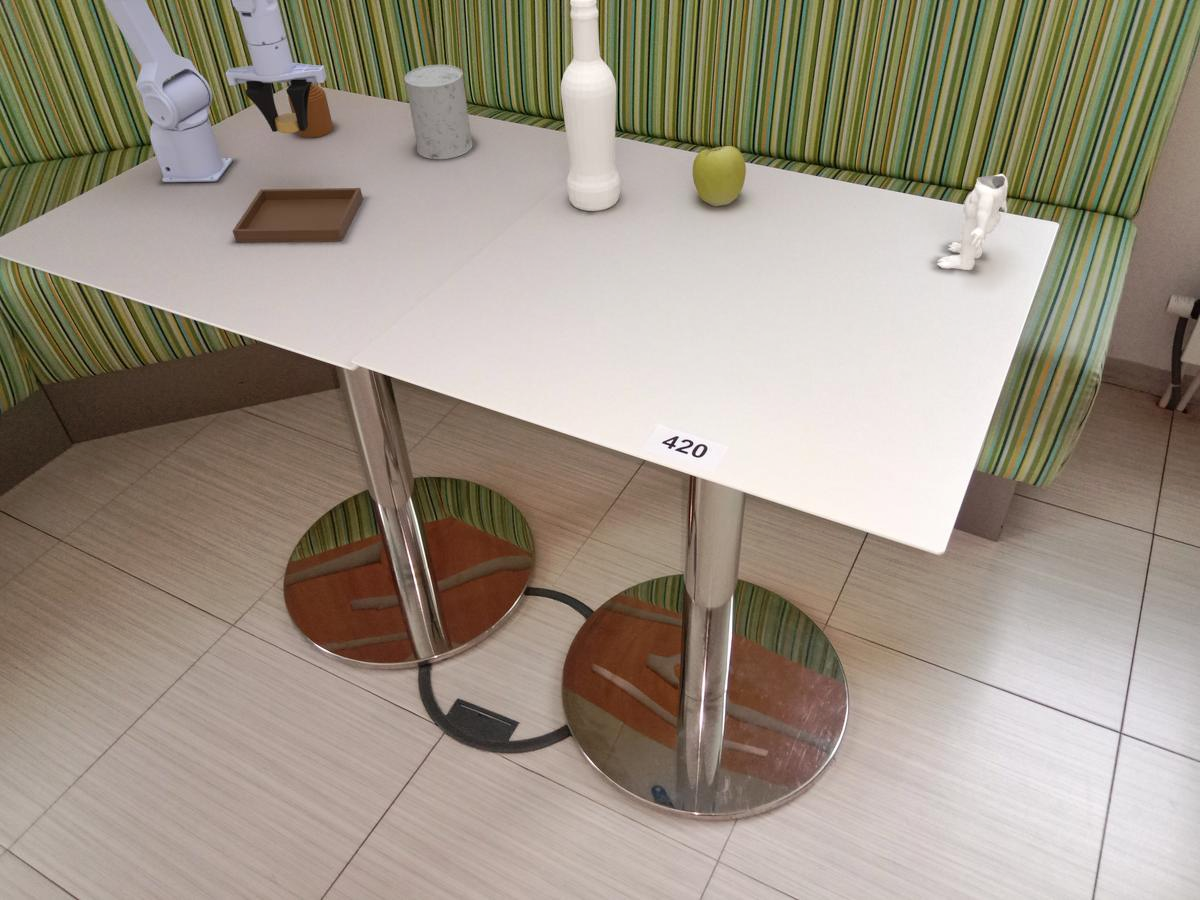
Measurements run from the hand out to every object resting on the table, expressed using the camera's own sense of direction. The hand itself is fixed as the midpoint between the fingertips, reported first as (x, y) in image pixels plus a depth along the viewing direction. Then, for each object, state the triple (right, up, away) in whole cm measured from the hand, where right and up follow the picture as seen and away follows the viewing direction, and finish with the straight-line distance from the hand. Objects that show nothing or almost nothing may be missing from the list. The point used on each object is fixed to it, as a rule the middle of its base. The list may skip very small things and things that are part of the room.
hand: (290, 128), depth 150 cm
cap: (0, +1, -1) cm, 1 cm away
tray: (+2, -14, -1) cm, 15 cm away
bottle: (+47, -11, 0) cm, 49 cm away
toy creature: (+98, -24, -18) cm, 102 cm away
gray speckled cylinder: (+21, +2, +16) cm, 27 cm away
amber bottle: (-3, +8, +24) cm, 25 cm away
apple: (+66, -12, -2) cm, 67 cm away
